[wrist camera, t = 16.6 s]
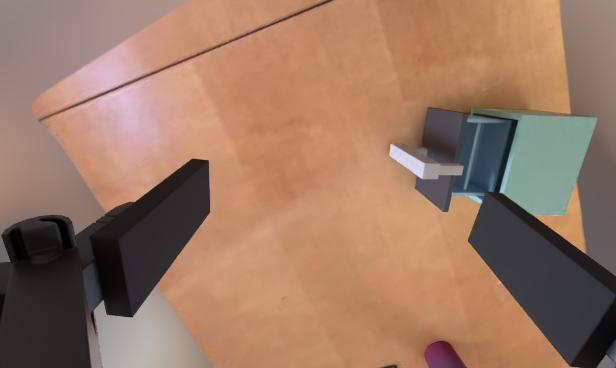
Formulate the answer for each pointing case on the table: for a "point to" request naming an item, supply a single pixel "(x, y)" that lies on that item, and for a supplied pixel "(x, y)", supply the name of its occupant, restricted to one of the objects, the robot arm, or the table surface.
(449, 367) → the cup
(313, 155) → the table surface
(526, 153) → the box
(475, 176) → the dark grey drawer
